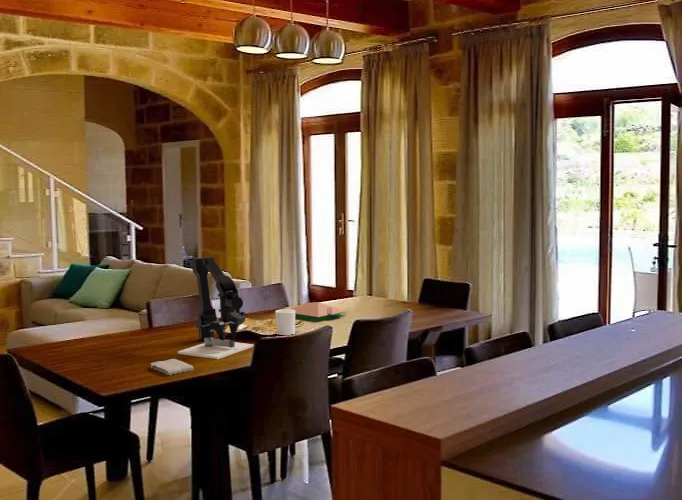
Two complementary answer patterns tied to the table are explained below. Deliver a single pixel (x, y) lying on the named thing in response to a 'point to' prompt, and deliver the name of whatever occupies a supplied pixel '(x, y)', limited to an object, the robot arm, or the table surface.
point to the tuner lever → (218, 342)
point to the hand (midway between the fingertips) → (228, 340)
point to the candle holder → (285, 321)
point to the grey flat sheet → (214, 350)
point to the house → (317, 311)
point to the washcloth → (172, 366)
